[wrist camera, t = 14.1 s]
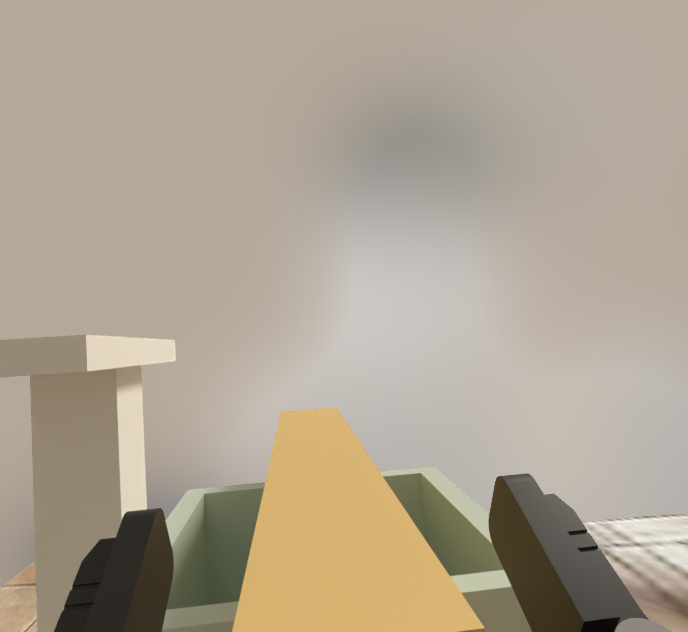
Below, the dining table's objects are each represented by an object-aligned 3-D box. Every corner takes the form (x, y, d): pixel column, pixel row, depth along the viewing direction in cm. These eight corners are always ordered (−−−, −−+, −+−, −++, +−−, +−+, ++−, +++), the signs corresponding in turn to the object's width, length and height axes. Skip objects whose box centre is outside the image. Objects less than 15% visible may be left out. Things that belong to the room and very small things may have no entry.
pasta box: (506, 899, 7) (484, 628, 8) (239, 949, 7) (225, 661, 7) (339, 463, 35) (336, 407, 35) (284, 468, 35) (281, 412, 35)
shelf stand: (108, 962, 25) (86, 334, 27) (-106, 1003, 24) (-114, 346, 26) (190, 688, 45) (174, 340, 47) (76, 704, 44) (64, 346, 45)
